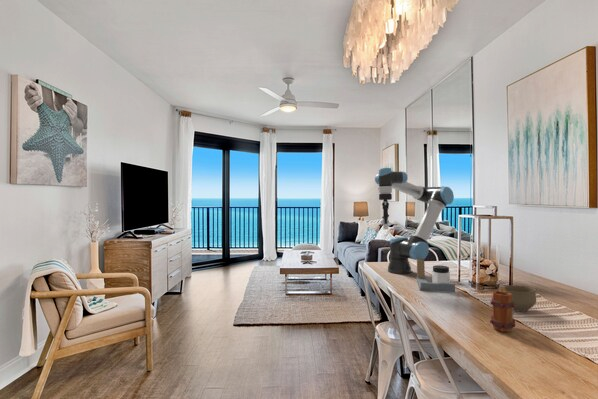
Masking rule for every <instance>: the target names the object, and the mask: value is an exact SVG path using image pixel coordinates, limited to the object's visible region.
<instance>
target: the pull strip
mask: <svg viewBox="0 0 598 399" xmlns="http://www.w3.org/2000/svg"><path fill="white" fill-rule="evenodd" d="M425 267H426V266H425V258H424V259H417V260H416V277H415V278H416V282H417V285H418V288H419V291H423V292H443V293H456V284H455V283H450V284H449V283H432V282H428V281H427V279H426V277H425V276H426V275H425V272H426V271H425V270H426V269H425Z"/></svg>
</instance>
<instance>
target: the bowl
mask: <svg viewBox="0 0 598 399" xmlns="http://www.w3.org/2000/svg"><path fill="white" fill-rule="evenodd" d="M504 286H505V291H506V292H508V293H511V294H512V300H513V301H514V305H515V306H514V307H513V311H514V310H515V311H517V312H528V311H529V310H530V309H531V308H533V307H534V306H535V305H536V303H537V295H536V294H537V293H536V291H537V289H536V288H535V287H532V286H526V285H515V284H513V285H504Z"/></svg>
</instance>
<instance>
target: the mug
mask: <svg viewBox="0 0 598 399" xmlns="http://www.w3.org/2000/svg"><path fill="white" fill-rule="evenodd" d="M505 286H506V285H504V286H502V285H499V286H498V290H494V291H493V292H492V298H491V299H490V300H491V301H490V304H491V305H492V314H493V315H491V316H490V321H489V323H490V324H491V325H492V328H493V329H494V330H495V331H499V332H501V333H511V332H513V330H514V328H515V327H516V319H514V318H513V317H514V315H513V314H514V312H513V311H514V309H513V307H514V306H515V305H514V301H513V300H512V294H511V293H508V292H506V291H505Z"/></svg>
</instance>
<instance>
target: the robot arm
mask: <svg viewBox="0 0 598 399" xmlns="http://www.w3.org/2000/svg"><path fill="white" fill-rule="evenodd" d="M408 178H409V177H408V174H407V172H405V171H393V170H392V168H390V167H381V168H379V169H378V173H377V174H376V175H375V177H374V182H375V184H377V185H378V188H377V190H378V193H379V194H378V199H379V200H380V201H381V200H382V204H381V206H382V212H383V214H382V215H383V216H382V220H383V221H382V222H383V223H382V226H383V229H382V230H389V217H390V214H389V206H390V203H389V202H388V201H390V200H393V194H392V193H393V189H394V190H396V191H399V192H400V193H401V192H402V193H403V194H406V195H409V196H412V198H413V199H415V200H417V201H420V202H422V203H424V204H425V203H426V204H428V206H427V208H425V209H426V210H425V212H424V213H423V216H422V218H421V220H420V222H419V224H418V227H417V228H416V230H415V231H414V234H411V235H410V236H409V237H408V236H401V237H391V238H390V240H389V241H390V242H389V253H390V257H389V258H390V260H389V264H388V266H387V271H388V272H389V273H392V274H399V275H400V274H401V275H403V274H405V275H407V274H410V273H412V266H411V264H410V262H409V259H411V260H415V261H417V259H424V260H425V259H426V258H427V256H428V254H430V253H429V252H430V246H429V242H428V241H429V240H428V239H429V237H430V235H431V233H432V231H433V229H434V226H435V225H436V222H437V221H438V219H439V216H440V214H441V212H442V210H445V209H446V207H447V206H448V205H452V203H453V201H454V198H455V197H454V196H455V195H454V192H453V190H452V189H451V188H450V186H426V187H425V186H421V185H415V184H413V183H410V182H408Z"/></svg>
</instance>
